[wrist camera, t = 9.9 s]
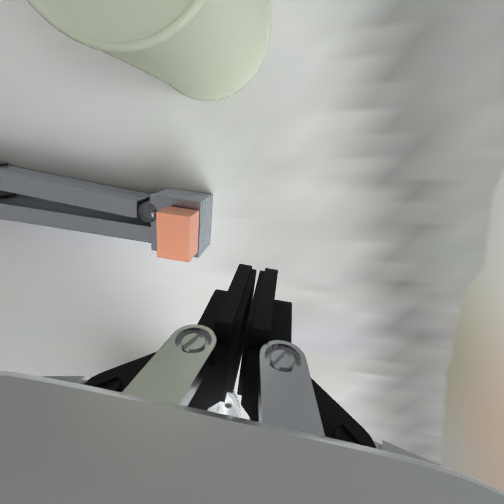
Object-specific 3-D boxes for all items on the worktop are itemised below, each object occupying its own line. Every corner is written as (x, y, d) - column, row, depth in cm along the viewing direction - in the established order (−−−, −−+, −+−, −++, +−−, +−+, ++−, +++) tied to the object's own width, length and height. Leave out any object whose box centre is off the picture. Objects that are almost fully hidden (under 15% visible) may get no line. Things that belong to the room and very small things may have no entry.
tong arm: (154, 192, 23) (136, 198, 21) (154, 212, 24) (136, 220, 21) (-33, 155, 25) (-73, 156, 22) (-28, 175, 25) (-67, 178, 22)
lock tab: (199, 210, 20) (189, 216, 18) (197, 252, 21) (188, 262, 19) (168, 206, 20) (156, 211, 18) (168, 247, 21) (157, 257, 20)
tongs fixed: (212, 194, 23) (200, 201, 20) (210, 243, 25) (198, 257, 22) (-28, 160, 25) (-74, 161, 22) (-15, 208, 27) (-56, 216, 24)
